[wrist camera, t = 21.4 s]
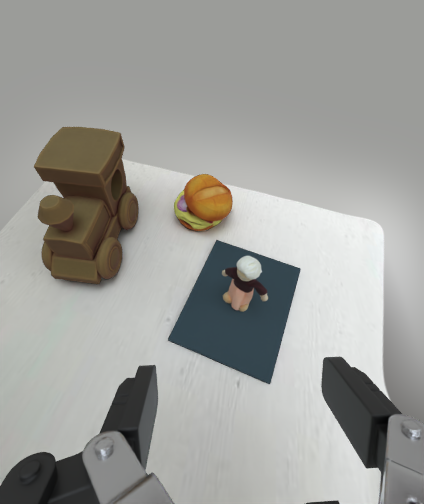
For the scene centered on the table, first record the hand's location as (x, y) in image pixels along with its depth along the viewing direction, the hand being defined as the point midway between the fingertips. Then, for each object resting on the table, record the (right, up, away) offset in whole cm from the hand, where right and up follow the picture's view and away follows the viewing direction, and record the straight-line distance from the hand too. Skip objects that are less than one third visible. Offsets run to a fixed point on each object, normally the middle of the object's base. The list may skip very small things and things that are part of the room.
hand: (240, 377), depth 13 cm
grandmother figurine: (+3, -2, +32) cm, 32 cm away
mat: (+3, -3, +33) cm, 33 cm away
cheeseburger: (-3, +13, +43) cm, 45 cm away
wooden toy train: (-22, +8, +39) cm, 46 cm away
